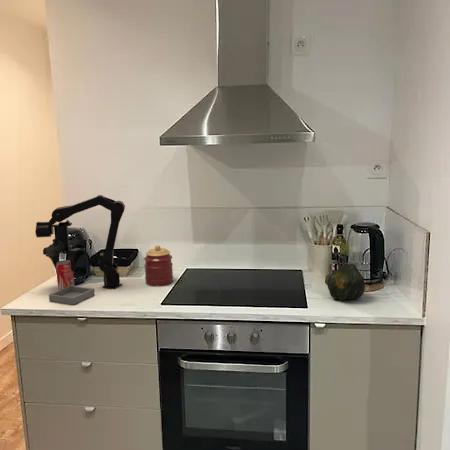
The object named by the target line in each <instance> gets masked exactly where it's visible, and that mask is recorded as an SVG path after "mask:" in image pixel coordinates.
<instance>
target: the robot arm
mask: <svg viewBox="0 0 450 450" xmlns="http://www.w3.org/2000/svg"><path fill="white" fill-rule="evenodd" d="M97 206H101V207H103V208H104V209H107V210H108V211H110V224H109V228H108V229H109V230H108V234H107V239H106V245H105V249H104V252H100V254H99V259H98V263H97V265H98V268H99V270H100V271H101V272H103V285H102V288H105V289H110V290H111V289H113V290H114V289H117V288H119V287H120V286H122V285H123V283H121V282H120V272H118V270H119V265H117V263H115V262H114V249H115V243H116V241H117V237H118V236H117V235H118V230H119V225H120V222H121V219H122V217H123V214H124V212H125V209H126V205H125V203H124V202H123V201H121V200H114V199H112V198H109V197H106V196H104V195H102V194H98V195H97V196H94V197H92V198H89V199H86V200H84V201H81V202H77V203H75V204H71V205H66V206H64V205H63V206H59V207H56V208H55V209H54V210H53V211H52V213H51V218H50V219H49V221H37V222H35V232H34V233H35V236H36V238H37V239H38V238H50V237H52V235H54V238H53V239H52V243H51V244H49V246H46V247H44V248H43V250H42V254H43V255H45V257H47V258H49V259H50V260H51V263H52V264H53V266H54V269H56V265H57V262H58V261H60V254H61V255H65V254H66V255H68V257H67V260H70V263H71V270H72V271H73V272H75V269H76V268H77V264H78V262H79V260H80V258H81V257H82V256H84V255H85V253H84V251H85V250H84V249H83V248H78V247H75V248H73V247H72V245H71V246H70V241H71V239H72V238H71V237H69V229H68V227H70V226H72V225H73V223H72V222H71V221H69V219H68V218H70V217H73V215H75V214H77V213H80V212H83V211H86V210H88V209H92V208H94V207H97ZM65 220H66V221H65ZM57 223H58V224H57Z"/></svg>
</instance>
